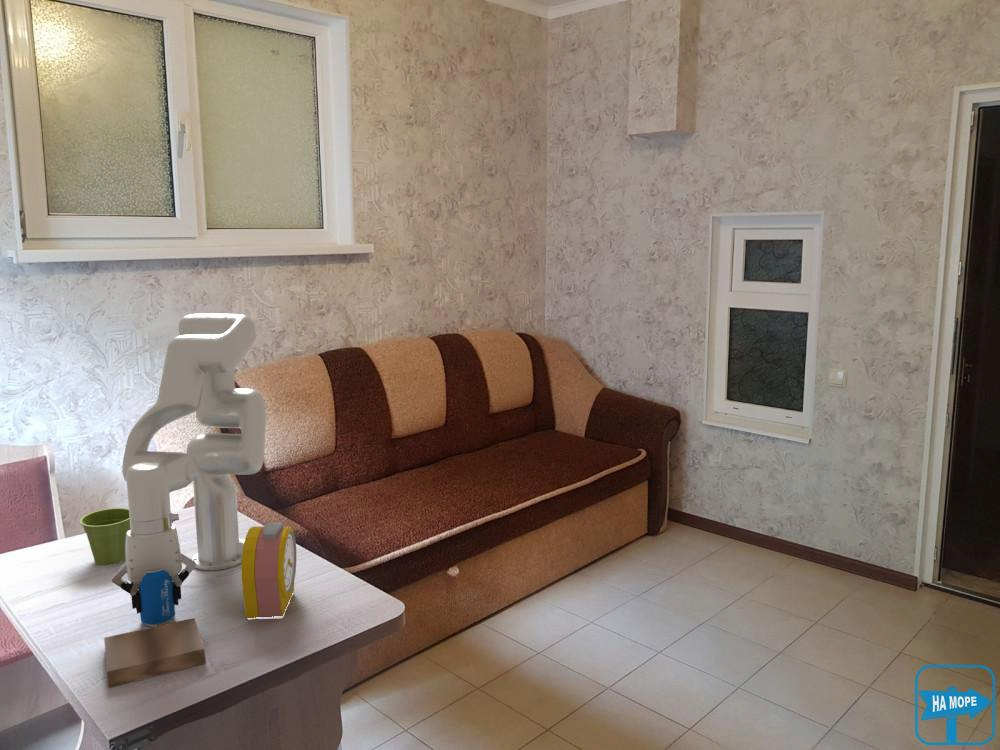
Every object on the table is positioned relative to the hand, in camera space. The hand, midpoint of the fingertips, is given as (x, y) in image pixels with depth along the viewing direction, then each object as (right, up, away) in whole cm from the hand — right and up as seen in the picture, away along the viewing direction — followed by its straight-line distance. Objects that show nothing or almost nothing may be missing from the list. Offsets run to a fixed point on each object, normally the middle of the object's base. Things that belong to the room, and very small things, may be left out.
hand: (157, 605), depth 155 cm
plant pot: (-24, +2, +29) cm, 38 cm away
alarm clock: (+22, -2, +7) cm, 23 cm away
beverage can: (0, -3, +1) cm, 3 cm away
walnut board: (+6, -6, -13) cm, 15 cm away
